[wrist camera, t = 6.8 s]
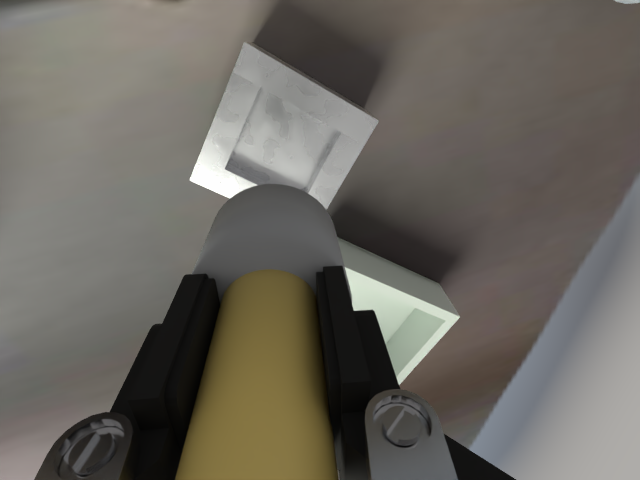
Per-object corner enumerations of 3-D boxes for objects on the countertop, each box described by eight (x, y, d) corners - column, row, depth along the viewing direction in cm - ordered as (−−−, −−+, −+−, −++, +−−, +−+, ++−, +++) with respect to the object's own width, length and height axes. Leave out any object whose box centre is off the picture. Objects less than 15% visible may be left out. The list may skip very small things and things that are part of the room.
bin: (256, 334, 41) (251, 373, 36) (319, 228, 35) (323, 258, 30) (366, 371, 45) (375, 411, 40) (439, 283, 39) (460, 316, 34)
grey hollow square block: (205, 158, 31) (189, 180, 26) (252, 42, 27) (244, 41, 22) (308, 207, 34) (311, 234, 29) (364, 108, 30) (378, 120, 25)
